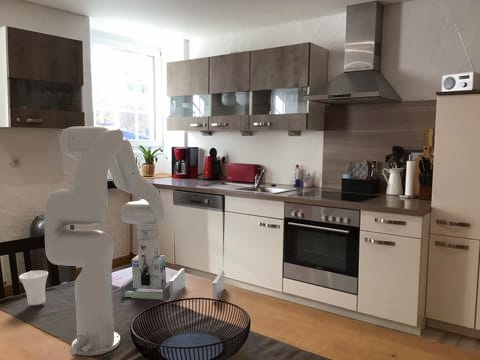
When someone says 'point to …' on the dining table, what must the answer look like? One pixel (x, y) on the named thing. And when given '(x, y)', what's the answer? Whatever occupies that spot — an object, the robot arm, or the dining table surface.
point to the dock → (128, 292)
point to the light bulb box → (155, 273)
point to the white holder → (179, 283)
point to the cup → (34, 286)
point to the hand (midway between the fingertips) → (149, 281)
